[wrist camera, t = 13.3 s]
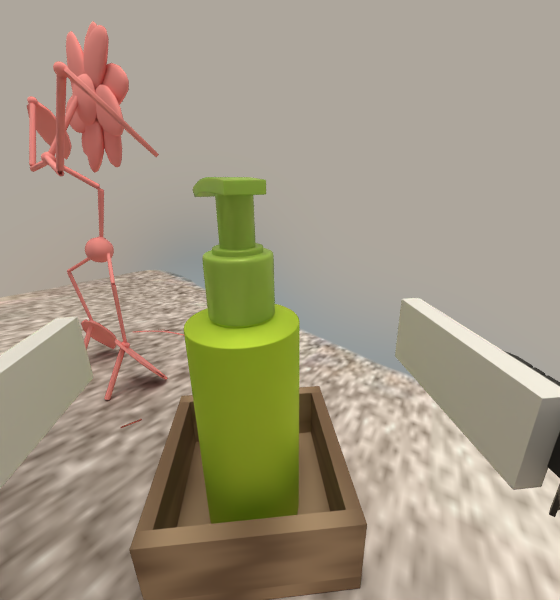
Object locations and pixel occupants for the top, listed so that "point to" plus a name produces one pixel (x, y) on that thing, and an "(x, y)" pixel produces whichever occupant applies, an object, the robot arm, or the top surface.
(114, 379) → the figurine
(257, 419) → the soap dispenser
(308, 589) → the walnut caddy
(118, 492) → the top surface
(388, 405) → the top surface
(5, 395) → the robot arm
